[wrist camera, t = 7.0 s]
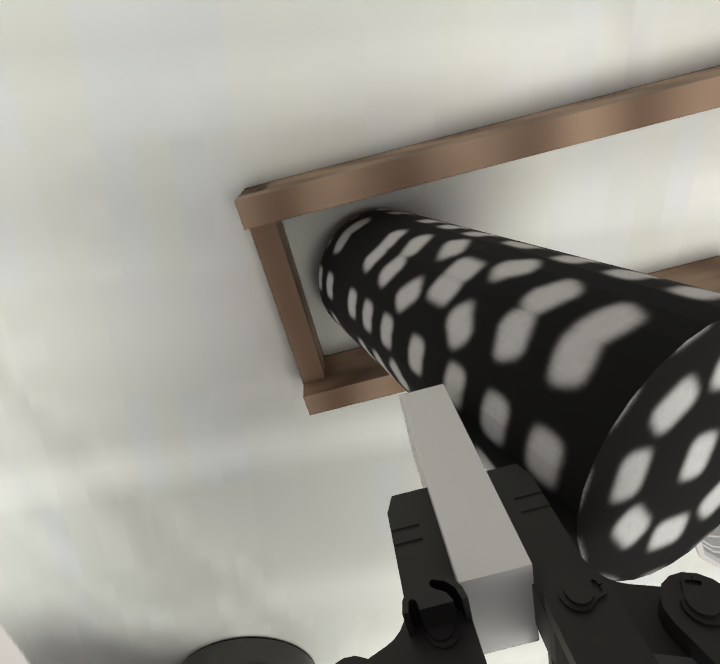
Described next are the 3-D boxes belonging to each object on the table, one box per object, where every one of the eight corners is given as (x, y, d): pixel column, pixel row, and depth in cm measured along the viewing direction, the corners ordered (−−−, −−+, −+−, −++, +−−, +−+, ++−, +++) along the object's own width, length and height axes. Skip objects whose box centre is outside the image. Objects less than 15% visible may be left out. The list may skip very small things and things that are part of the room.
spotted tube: (320, 206, 26) (633, 318, 9) (442, 209, 29) (848, 297, 12) (316, 339, 29) (544, 618, 12) (427, 329, 32) (736, 537, 15)
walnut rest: (309, 378, 33) (309, 415, 29) (245, 188, 27) (234, 201, 23) (717, 274, 33) (774, 297, 29) (748, 57, 27) (827, 47, 23)
